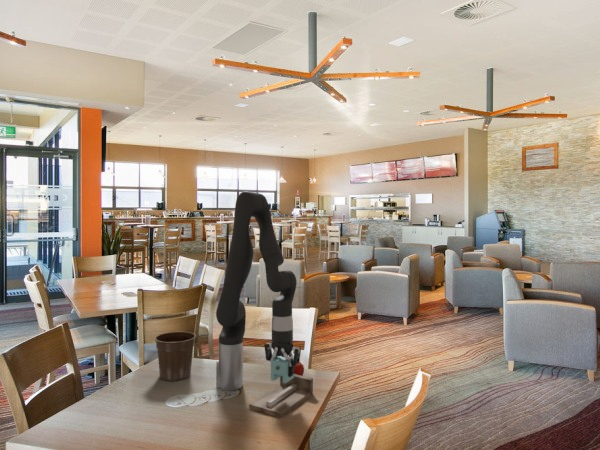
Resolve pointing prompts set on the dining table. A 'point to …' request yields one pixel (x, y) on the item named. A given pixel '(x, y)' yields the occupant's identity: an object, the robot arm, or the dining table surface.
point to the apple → (299, 369)
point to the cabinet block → (280, 369)
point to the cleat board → (288, 399)
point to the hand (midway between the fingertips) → (282, 374)
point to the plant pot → (175, 354)
